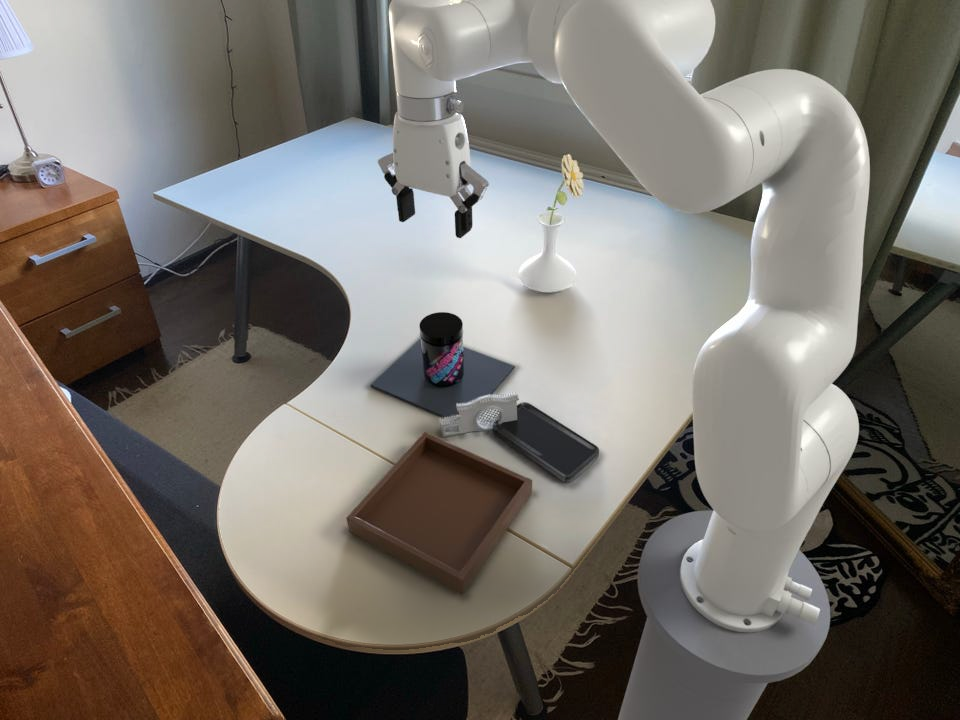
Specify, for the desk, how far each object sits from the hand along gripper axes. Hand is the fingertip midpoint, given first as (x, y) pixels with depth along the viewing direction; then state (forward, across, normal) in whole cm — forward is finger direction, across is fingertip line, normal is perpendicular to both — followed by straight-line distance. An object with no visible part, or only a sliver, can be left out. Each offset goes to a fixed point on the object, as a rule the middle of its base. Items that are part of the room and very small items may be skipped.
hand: (434, 225), depth 95 cm
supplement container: (+26, -2, +2) cm, 26 cm away
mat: (+26, -1, +2) cm, 26 cm away
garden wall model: (+26, -13, +9) cm, 31 cm away
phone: (+27, -22, +7) cm, 35 cm away
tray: (+27, -16, +25) cm, 40 cm away
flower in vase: (+26, -4, -33) cm, 42 cm away
